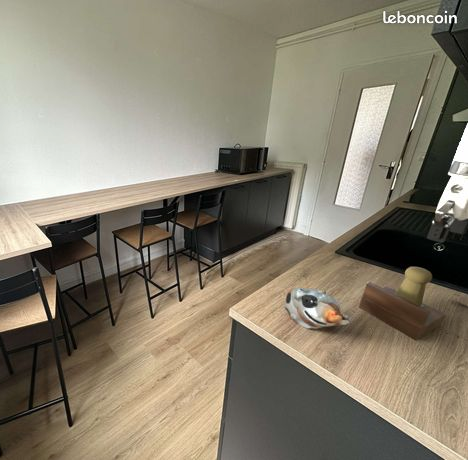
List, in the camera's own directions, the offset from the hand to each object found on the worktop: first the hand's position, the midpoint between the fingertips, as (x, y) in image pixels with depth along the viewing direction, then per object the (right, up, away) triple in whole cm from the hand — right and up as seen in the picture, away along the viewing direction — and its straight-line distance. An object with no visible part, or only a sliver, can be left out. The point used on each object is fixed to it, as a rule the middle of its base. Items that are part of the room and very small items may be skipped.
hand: (445, 236), depth 65 cm
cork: (-3, -19, +7) cm, 21 cm away
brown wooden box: (-5, -23, +8) cm, 25 cm away
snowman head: (-29, -25, +8) cm, 39 cm away
